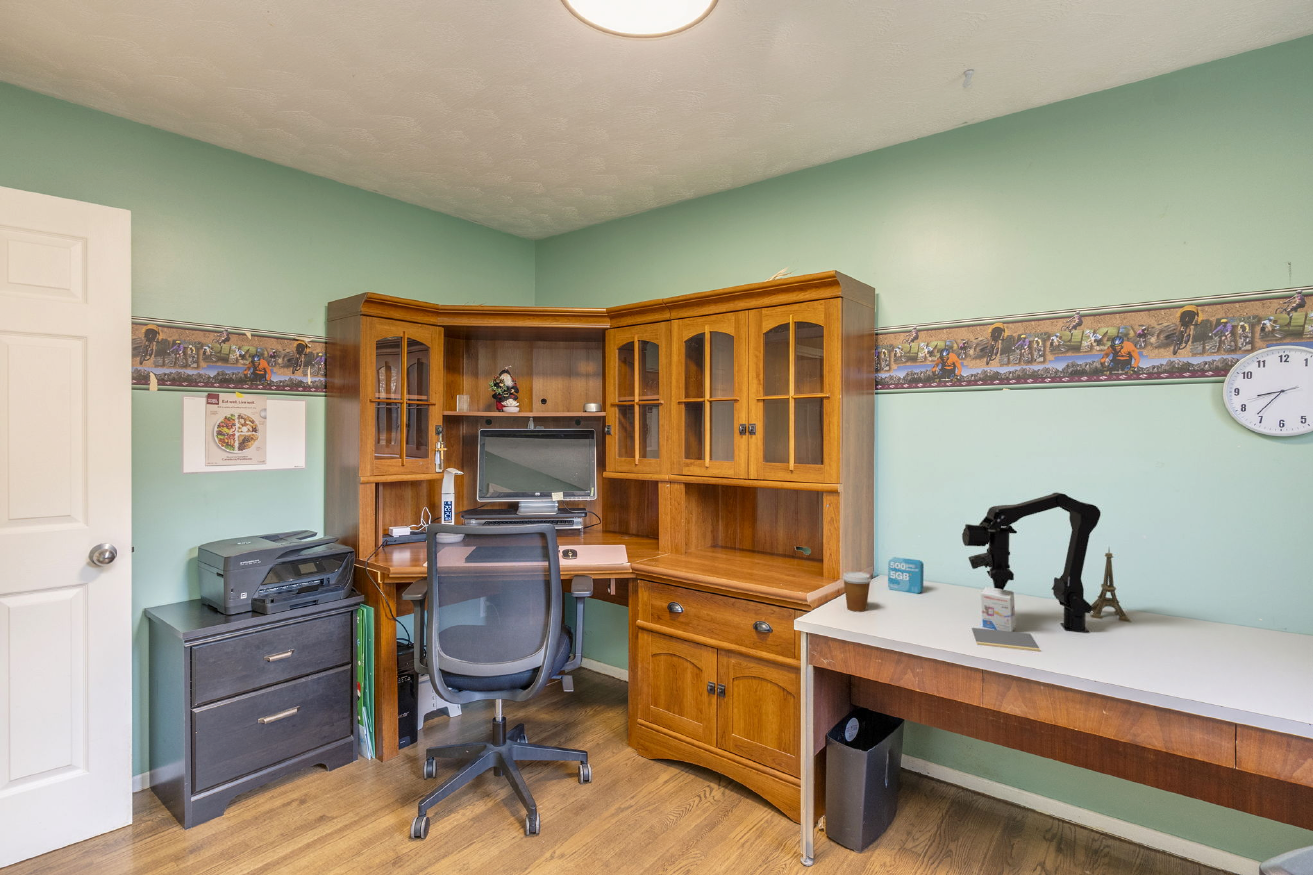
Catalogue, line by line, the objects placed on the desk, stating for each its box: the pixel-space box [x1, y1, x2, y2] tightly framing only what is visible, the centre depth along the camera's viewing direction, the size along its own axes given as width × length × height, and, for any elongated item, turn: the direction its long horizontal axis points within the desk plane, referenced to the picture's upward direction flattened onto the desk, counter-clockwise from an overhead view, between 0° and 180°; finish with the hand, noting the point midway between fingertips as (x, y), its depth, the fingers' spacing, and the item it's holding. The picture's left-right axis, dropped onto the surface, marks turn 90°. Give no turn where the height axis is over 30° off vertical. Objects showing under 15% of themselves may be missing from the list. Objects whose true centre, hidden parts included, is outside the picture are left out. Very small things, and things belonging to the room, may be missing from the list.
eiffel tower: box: [1090, 548, 1132, 623], centre depth 214 cm, size 11×11×25 cm
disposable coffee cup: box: [842, 571, 872, 613], centre depth 222 cm, size 10×10×12 cm
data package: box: [887, 556, 925, 595], centre depth 246 cm, size 12×4×12 cm, turn 54°
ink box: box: [980, 586, 1016, 632], centre depth 200 cm, size 9×5×12 cm, turn 48°
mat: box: [971, 627, 1041, 652], centre depth 191 cm, size 15×16×1 cm
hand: (997, 595), depth 203 cm, fingers closed
